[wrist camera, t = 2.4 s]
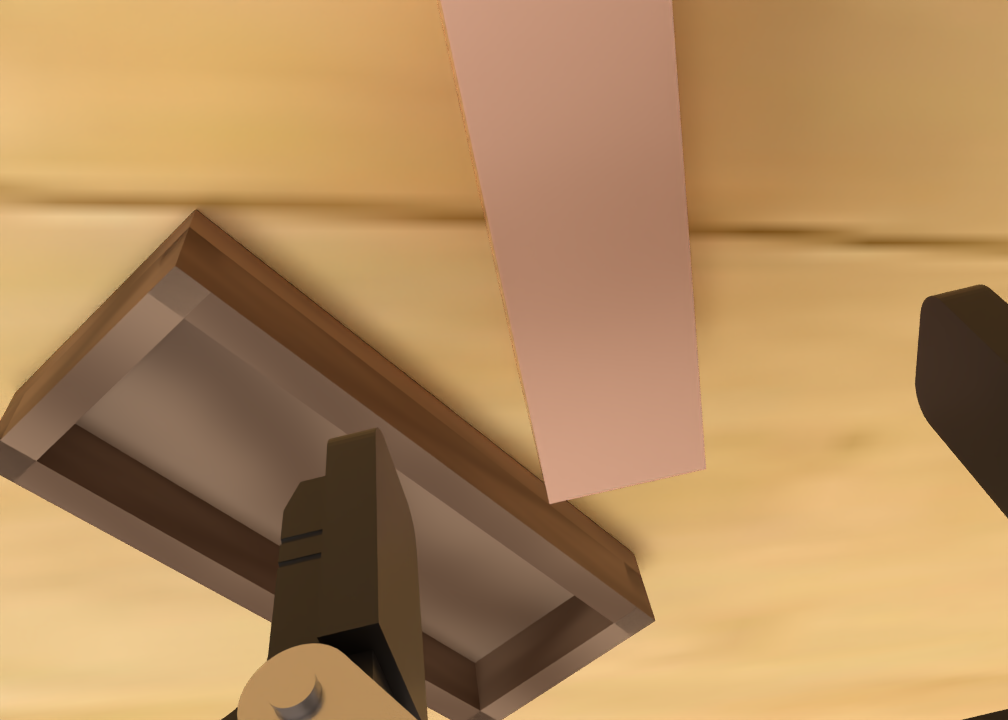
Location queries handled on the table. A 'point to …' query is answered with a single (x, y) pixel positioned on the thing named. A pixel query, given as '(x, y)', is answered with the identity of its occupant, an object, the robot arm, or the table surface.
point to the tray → (308, 469)
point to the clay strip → (586, 228)
